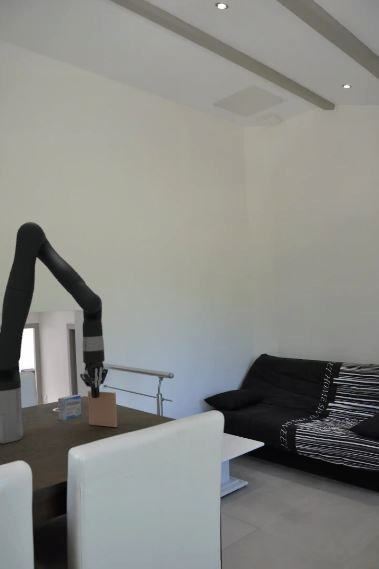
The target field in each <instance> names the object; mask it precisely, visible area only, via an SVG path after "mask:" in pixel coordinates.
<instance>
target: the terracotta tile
mask: <svg viewBox="0 0 379 569" xmlns="http://www.w3.org/2000/svg"><path fill="white" fill-rule="evenodd" d="M116 394H117V393H116V392H112V391H100V395H99V397H98V398H92V396H91V390H87V399H88V400H87V401H88V403H87V405H88V406H87V407H88V422H89V425H91V426H92V425H93V426H102V427H110V428H117V427H118V418H117V416H118V415H117V397H116Z"/></svg>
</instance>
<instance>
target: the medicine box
mask: <svg viewBox="0 0 379 569" xmlns="http://www.w3.org/2000/svg"><path fill="white" fill-rule="evenodd" d="M57 403H58V404H57V405H58V406H57V408H58V420H59V421H68V420H70V419H75V418H78V417H82V399H81V395H80V394H72V395H68V396H64V397H59V398H58V399H57Z"/></svg>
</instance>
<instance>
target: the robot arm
mask: <svg viewBox="0 0 379 569" xmlns="http://www.w3.org/2000/svg"><path fill="white" fill-rule="evenodd" d="M37 259H38V260H39V261H41V263H42V264H43V265H44V266H46V268H47V269H48V270H49V272H50V273H51V274H52V276H53V277H54V278H55V279H56V280H57V282H58V283H59V284H60V285H61V286H62V288H63V289H64V290H66V292H67V293H69V295H71V297H72V298H73V299H74V302H76V303H77V305H78V306H79V307H80V308H81V309H82V312H83V313H82V315H83V322H82V362H83V363H84V372H83V373H80V375H79V377H80V379H81V380H82V381H83V383H84V384H85V385H86V387H89V388H90V391H91V396H92V398H98V397H99V395H100V392H101V391H100V388H101V387H100V386H101V385H103V384H104V382H105V380H106V377H107V374H108V372H109V369H108V368H105V367H104V366H105V364H104V362H105V360H106V358H105V341H104V336H103V335H104V334H103V333H104V332H103V331H104V330H103V322H102V316H103V315H102V314H103V301H102V298H101V297H100V296H99V295H98V294H96V293H95V292H94V291H93V289H92V288H90V287H89V286H88V285H87V284H86V282H85V280H84V278H83V277H82V276H81V275H80V274H79V273H78V272H77V271H76V270H75V269H74V268H73V267H72V265H71V264H69V263H68V262H67V261H66V260H65V259H64V258H63V257H62V256H61V255H60V254H59V253H58V252H57V251H56V250H55V248H54V247H53V246H52V244H51V243H50V241H49V240H48V238H47V237H46V233H45V231H44V229H43V228H42V227H41V226H40V225H39V224H38V223H36V222H34V221H28V222H25V223H23V224H22V225H20V227H19V228H18V230H17V232H16V237H15V248H14V257H13V262H12V264H11V268H10V271H9V275H8V279H7V283H6V286H5V289H4V290H5V292H4V295H3V299H2V300H3V302H2V310H1V324H0V325H1V326H0V444H7V443H12V442H16V441H20V440H22V439H23V438H24V436H23V434H24V432H23V412H22V411H23V408H22V385H21V384H22V381H21V380H22V379H21V373H20V360H21V357H22V356H21V354H22V344H23V342H22V341H23V336H24V331H25V330H24V329H25V326H26V323H27V319H28V317H29V312H30V309H31V306H32V302H33V297H34V292H35V284H36V283H35V280H36V264H37Z"/></svg>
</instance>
